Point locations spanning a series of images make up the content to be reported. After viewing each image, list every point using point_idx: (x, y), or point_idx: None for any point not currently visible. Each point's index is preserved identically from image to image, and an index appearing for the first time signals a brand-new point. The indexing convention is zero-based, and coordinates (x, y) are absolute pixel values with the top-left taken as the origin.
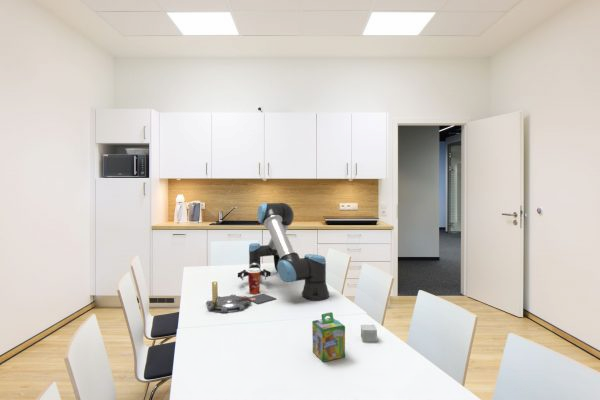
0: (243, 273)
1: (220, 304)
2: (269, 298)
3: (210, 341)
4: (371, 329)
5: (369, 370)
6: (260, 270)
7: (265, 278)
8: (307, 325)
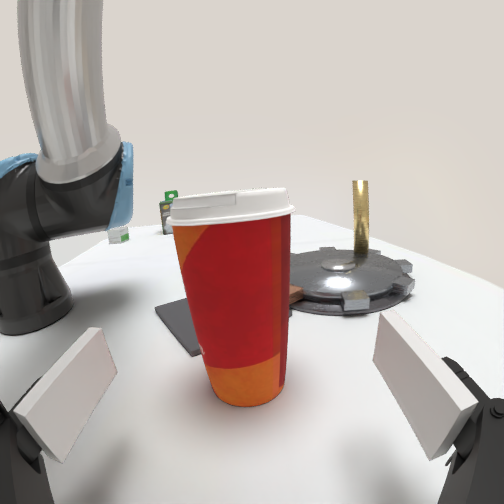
0: (456, 401)
1: (353, 256)
2: (181, 306)
3: (307, 229)
4: (119, 227)
5: (158, 228)
6: (169, 216)
7: (108, 361)
8: (161, 248)
